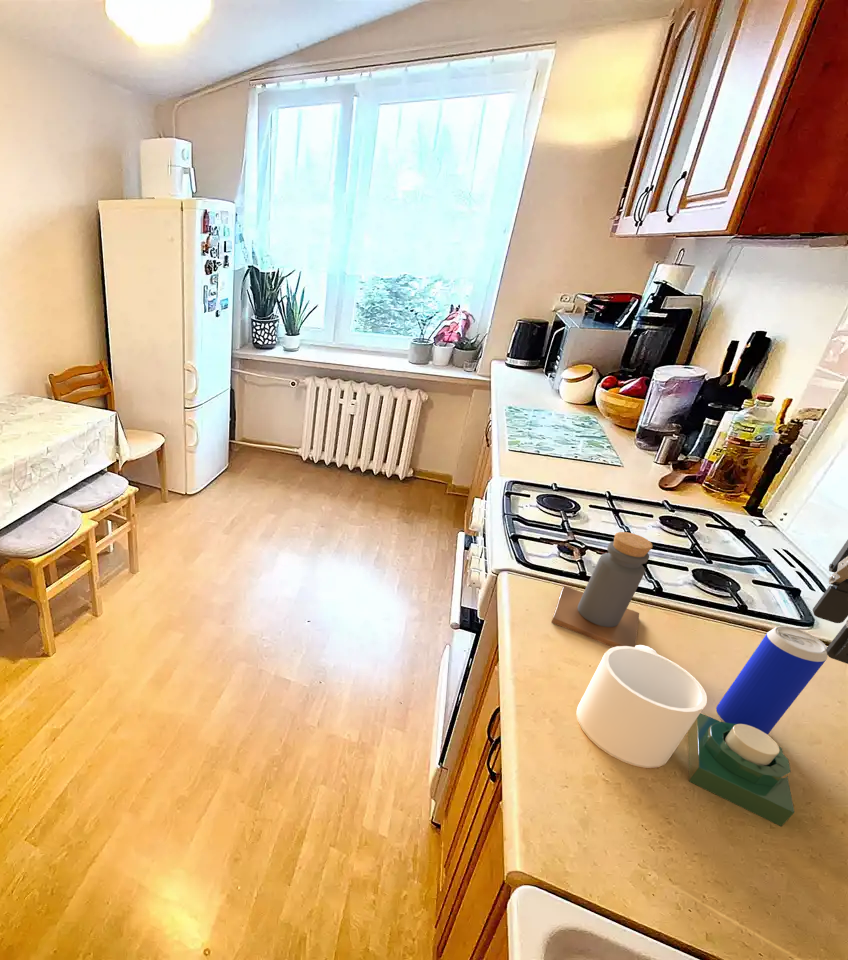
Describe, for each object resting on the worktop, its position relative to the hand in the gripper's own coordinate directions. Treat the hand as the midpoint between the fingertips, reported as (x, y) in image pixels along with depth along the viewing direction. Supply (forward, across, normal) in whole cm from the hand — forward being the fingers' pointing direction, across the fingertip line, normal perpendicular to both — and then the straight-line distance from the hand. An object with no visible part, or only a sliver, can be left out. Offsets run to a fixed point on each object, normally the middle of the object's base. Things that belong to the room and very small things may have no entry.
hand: (832, 637), depth 53 cm
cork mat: (+22, +21, +16) cm, 34 cm away
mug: (+22, -1, +11) cm, 25 cm away
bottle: (+21, +21, +16) cm, 34 cm away
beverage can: (+22, +10, -1) cm, 24 cm away
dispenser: (+22, 0, 0) cm, 22 cm away
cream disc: (+18, 0, 0) cm, 18 cm away
